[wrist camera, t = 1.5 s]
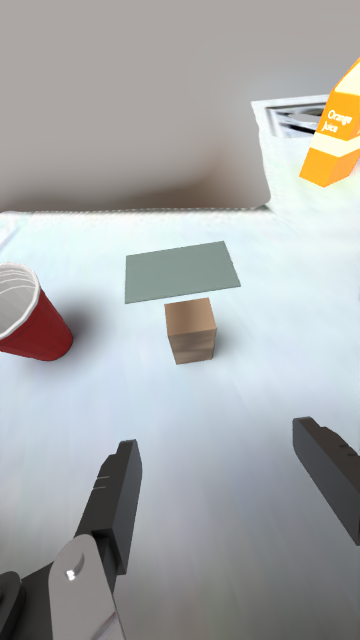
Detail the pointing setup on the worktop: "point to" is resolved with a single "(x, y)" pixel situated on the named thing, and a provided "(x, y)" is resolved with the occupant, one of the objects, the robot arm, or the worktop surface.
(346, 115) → the orange juice
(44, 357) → the plastic cup
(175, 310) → the walnut block
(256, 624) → the worktop surface
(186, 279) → the mat
